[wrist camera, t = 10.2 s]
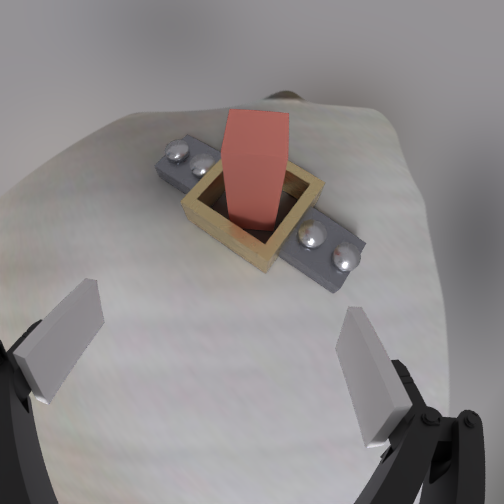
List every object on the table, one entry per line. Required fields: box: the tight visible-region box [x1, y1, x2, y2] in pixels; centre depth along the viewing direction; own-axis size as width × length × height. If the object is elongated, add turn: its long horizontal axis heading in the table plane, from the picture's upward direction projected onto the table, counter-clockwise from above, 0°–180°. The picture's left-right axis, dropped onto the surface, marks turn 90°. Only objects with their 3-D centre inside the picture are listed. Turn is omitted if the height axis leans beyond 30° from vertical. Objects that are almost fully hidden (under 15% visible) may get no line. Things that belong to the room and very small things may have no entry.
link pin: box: [221, 109, 289, 231], centre depth 22 cm, size 4×4×11 cm
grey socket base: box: [155, 135, 366, 293], centre depth 26 cm, size 21×9×4 cm, turn 54°
